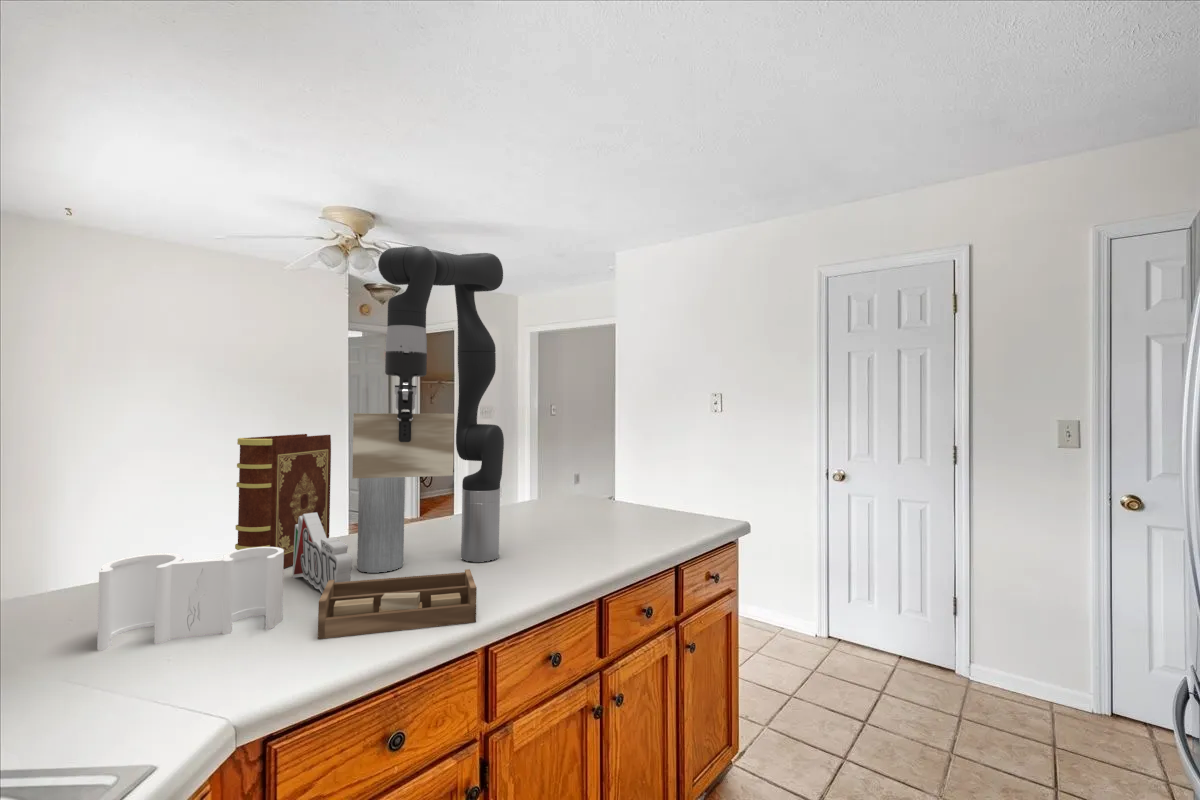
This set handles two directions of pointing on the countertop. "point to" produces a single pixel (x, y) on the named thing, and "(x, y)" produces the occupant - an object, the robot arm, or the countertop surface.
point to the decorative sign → (319, 554)
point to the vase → (380, 524)
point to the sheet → (402, 446)
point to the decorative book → (281, 488)
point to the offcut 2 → (445, 600)
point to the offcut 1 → (353, 607)
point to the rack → (401, 618)
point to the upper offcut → (400, 601)
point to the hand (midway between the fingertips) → (404, 440)
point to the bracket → (189, 593)
